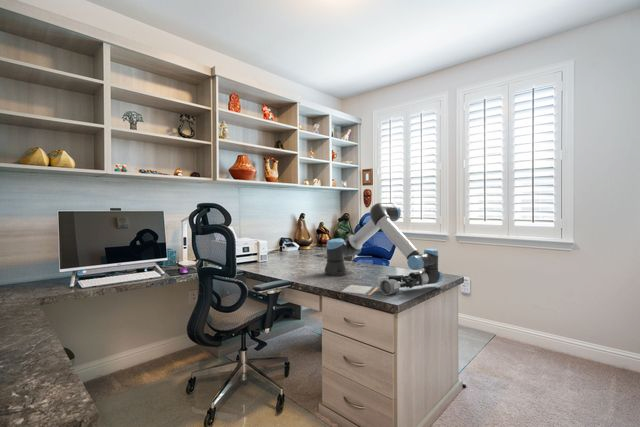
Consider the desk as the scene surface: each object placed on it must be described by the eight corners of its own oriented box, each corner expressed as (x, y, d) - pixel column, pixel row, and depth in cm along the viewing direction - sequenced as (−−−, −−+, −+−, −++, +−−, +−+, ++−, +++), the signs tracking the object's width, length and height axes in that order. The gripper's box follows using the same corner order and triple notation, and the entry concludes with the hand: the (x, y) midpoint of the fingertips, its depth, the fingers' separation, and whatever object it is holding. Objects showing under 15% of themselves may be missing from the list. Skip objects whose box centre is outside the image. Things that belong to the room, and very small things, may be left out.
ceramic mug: (400, 293, 172) (400, 278, 172) (391, 296, 167) (390, 281, 167) (384, 290, 180) (384, 276, 180) (375, 292, 175) (374, 278, 175)
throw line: (376, 287, 184) (376, 287, 184) (378, 288, 184) (378, 287, 184) (367, 295, 169) (367, 294, 169) (370, 295, 168) (370, 295, 168)
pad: (350, 285, 190) (350, 284, 190) (372, 287, 184) (372, 286, 184) (341, 292, 176) (341, 291, 176) (364, 294, 171) (364, 293, 171)
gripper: (434, 290, 169) (401, 296, 160) (402, 280, 191) (372, 284, 182) (434, 276, 169) (401, 280, 160) (402, 268, 191) (372, 271, 182)
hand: (386, 283), depth 171 cm, fingers open, 13 cm apart
